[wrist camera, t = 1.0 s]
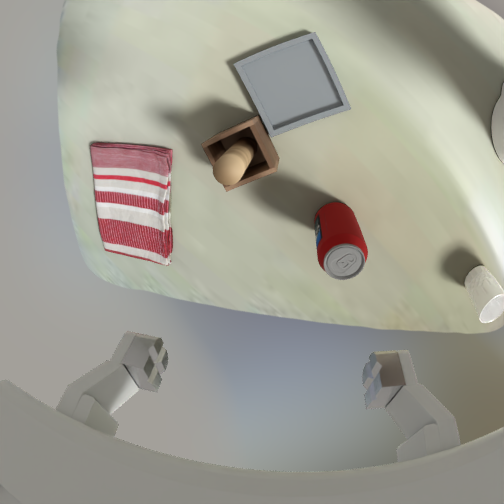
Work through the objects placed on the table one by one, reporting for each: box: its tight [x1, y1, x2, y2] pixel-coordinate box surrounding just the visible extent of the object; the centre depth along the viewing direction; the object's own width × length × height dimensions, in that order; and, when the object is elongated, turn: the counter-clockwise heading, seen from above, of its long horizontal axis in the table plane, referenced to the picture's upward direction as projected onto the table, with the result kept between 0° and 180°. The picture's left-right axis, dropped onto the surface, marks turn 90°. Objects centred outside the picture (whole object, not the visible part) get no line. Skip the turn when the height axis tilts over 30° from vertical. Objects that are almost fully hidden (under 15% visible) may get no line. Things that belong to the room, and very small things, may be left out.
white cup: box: [464, 266, 504, 323], centre depth 40 cm, size 8×8×10 cm
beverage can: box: [314, 202, 368, 280], centre depth 38 cm, size 7×7×12 cm
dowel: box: [213, 137, 257, 185], centre depth 33 cm, size 3×3×12 cm
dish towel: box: [90, 143, 173, 266], centre depth 46 cm, size 17×23×3 cm
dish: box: [234, 32, 351, 137], centre depth 31 cm, size 12×12×1 cm
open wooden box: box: [201, 115, 279, 192], centre depth 35 cm, size 7×7×7 cm
